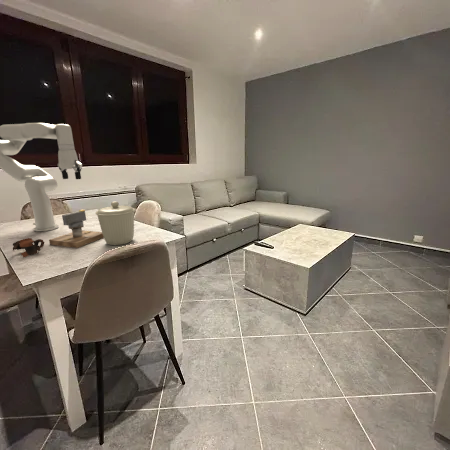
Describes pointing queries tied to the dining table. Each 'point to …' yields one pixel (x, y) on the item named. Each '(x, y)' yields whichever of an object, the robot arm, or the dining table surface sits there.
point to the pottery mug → (28, 246)
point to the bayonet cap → (74, 219)
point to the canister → (116, 223)
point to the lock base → (76, 238)
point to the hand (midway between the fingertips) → (72, 179)
